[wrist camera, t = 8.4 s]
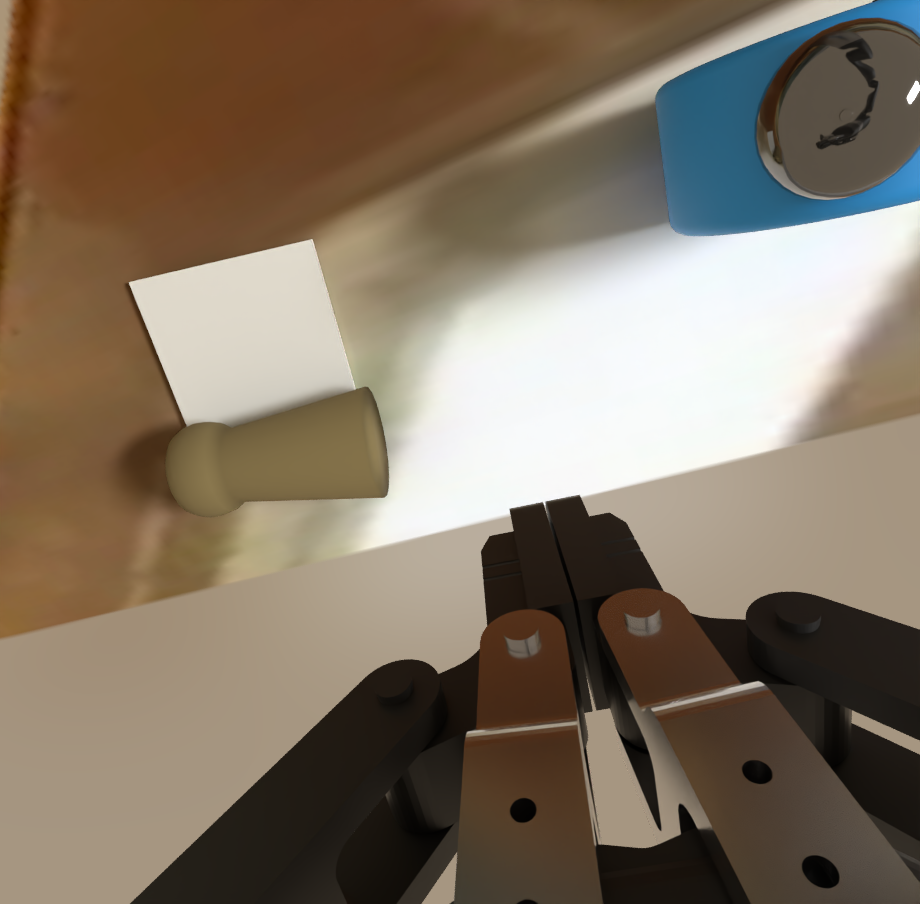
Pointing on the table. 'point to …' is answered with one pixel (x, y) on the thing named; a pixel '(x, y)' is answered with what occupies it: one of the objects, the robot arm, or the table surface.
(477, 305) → the table surface
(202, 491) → the cork
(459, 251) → the table surface
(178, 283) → the mat
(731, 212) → the alarm clock
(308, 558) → the table surface
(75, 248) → the table surface
